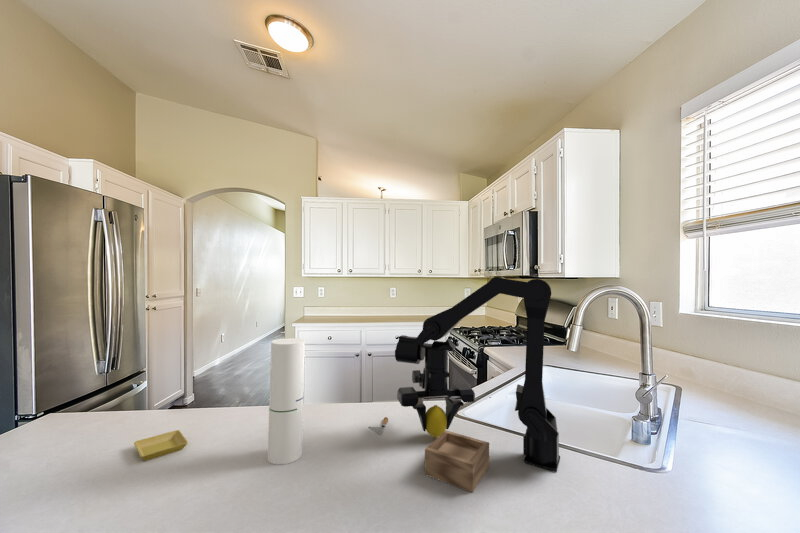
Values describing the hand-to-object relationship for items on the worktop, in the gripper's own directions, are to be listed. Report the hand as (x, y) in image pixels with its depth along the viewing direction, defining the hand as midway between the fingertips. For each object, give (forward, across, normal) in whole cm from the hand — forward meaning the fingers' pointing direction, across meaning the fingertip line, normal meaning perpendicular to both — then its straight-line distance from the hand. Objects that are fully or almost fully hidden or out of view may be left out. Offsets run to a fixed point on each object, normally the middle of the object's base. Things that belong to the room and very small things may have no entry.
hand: (435, 429), depth 81 cm
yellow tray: (+3, +63, -6) cm, 63 cm away
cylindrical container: (+2, +35, +1) cm, 35 cm away
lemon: (+2, 0, 0) cm, 2 cm away
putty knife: (+3, +14, -7) cm, 16 cm away
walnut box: (+2, 0, +14) cm, 14 cm away
